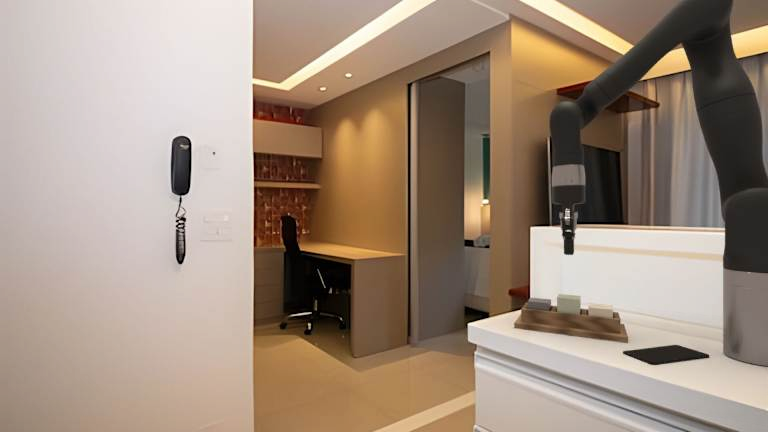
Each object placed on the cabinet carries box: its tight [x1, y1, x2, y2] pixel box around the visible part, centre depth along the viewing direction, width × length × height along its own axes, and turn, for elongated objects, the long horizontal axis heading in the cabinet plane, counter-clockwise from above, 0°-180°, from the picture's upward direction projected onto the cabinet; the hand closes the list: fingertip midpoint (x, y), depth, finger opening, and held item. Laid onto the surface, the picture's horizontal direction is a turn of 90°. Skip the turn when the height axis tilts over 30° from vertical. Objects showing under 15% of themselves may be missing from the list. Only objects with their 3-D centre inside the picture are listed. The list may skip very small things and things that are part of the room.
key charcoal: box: [527, 297, 552, 311], centre depth 99 cm, size 5×5×5 cm
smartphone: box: [622, 344, 710, 366], centre depth 77 cm, size 7×1×15 cm
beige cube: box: [587, 302, 614, 318], centre depth 92 cm, size 5×5×5 cm
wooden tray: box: [513, 302, 629, 344], centre depth 95 cm, size 24×12×4 cm, turn 61°
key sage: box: [556, 293, 582, 315], centre depth 95 cm, size 5×5×5 cm
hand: (569, 254), depth 95 cm, fingers closed
